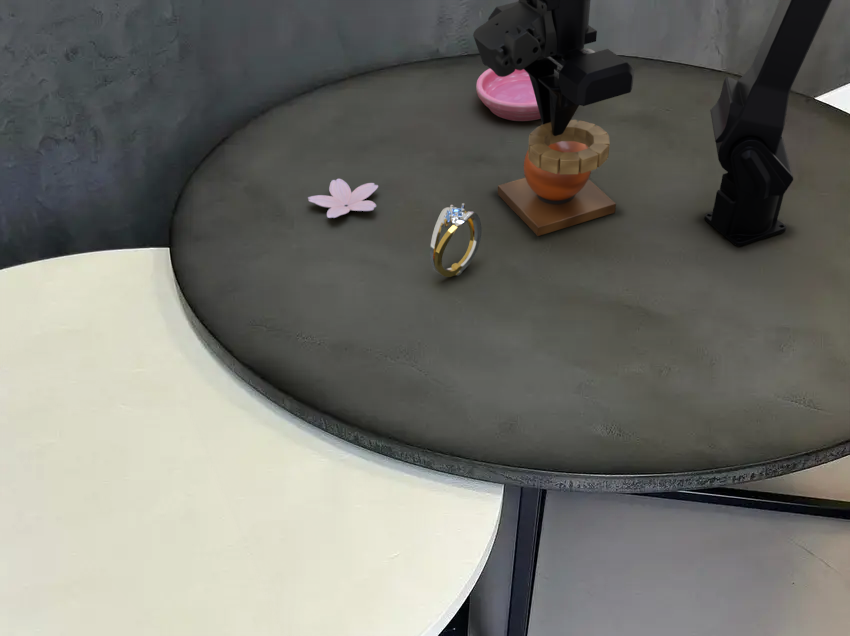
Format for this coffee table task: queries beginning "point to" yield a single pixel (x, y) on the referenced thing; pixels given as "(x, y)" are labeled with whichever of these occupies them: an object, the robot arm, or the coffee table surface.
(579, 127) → the ring
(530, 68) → the robot arm
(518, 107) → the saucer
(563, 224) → the ball stand
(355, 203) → the flower
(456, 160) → the coffee table surface
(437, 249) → the ring
